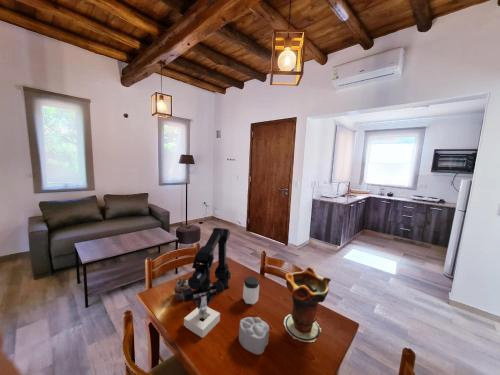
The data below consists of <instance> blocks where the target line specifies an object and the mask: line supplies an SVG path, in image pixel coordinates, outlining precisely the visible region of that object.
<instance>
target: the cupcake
mask: <svg viewBox="0 0 500 375" xmlns="http://www.w3.org/2000/svg"><path fill="white" fill-rule="evenodd" d="M189 288H190V287H189V285H188V280H187V279H181V278H179V279H178V280H177V283H176V284H175V286H174V288H173V290H174V291H173V292H174V295H175V299H176V300H177V301H179V302H180V301H181V302H183V301H184V300H183V297H182V291H183V290H185V289H189ZM191 290H193V289H192V288H191Z"/></svg>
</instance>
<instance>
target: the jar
mask: <svg viewBox="0 0 500 375" xmlns="http://www.w3.org/2000/svg"><path fill="white" fill-rule="evenodd" d="M259 284H260V280H259V278H258V277H256V276H253V275H251V276H247V277H245V279H244V282H243V289H242V290H243V291H242V292H243V293H242V299H243V300H244V302H245V304H247V305H249V304H250V305H255V304H256V303H257V302H258V301H259V297H260V296H259V293H260V285H259Z"/></svg>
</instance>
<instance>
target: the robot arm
mask: <svg viewBox="0 0 500 375" xmlns="http://www.w3.org/2000/svg"><path fill="white" fill-rule="evenodd" d="M230 235H231V231H230V229H229V228H223V227H213V228H212V233H211V234H210V237H209V238H208V240H207V241H206V243H205V245H203V246H201V247H200V248H199V249H198V251H197V252H196V254H195V257H194V259H193V263H192V268H191V269H194V270H195V271H194V272H193V273H192V275H191V276H190V277H189V278H188V280H187V281H188V285H189V287H190V288H189V289H185V290H183V291H182V297H183V300H184V303H189V302H195V304H196V308H198V309H199V294H202V293H207V294H208V297H207V307H209V305H210V303H212V302H211V301H212V300H213V299H214V297H216V295H217V294H221V293H223V292H224V290H226V289H227V290H228V289H230V286H229V280H231V275H232V274H231V271H230V267H229V265H228V263H227V242H228V240H229V239H230ZM217 244H218V246H217ZM216 247H218V249H217V250H218V252H217V254H218V258H217V259H218V261H217V262H218V264H217V266H216V267H215V270H214V278H215V279H216V281H212V280H211V268H212V267H213V263H214V261H215V255H214V251H215V249H216ZM191 288H192V289H191Z"/></svg>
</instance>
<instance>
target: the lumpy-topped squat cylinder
mask: <svg viewBox="0 0 500 375" xmlns="http://www.w3.org/2000/svg"><path fill="white" fill-rule="evenodd" d="M238 331H239V332H238V341H239V343H240V345H241V346H242V348H243V349H245V350H246V351H248V352H250V353H251V354H254V355H261V354H263V353H264V351H265V348H266V347H267V345H268V344H269V339H270V338H269V336H270V325H269V324H268V323H267V322H266V321H264V320H262V319H261V318H260V317H258V316H256V317H253V316H247V317H244V318H241V319H240V321H239V329H238Z"/></svg>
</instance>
